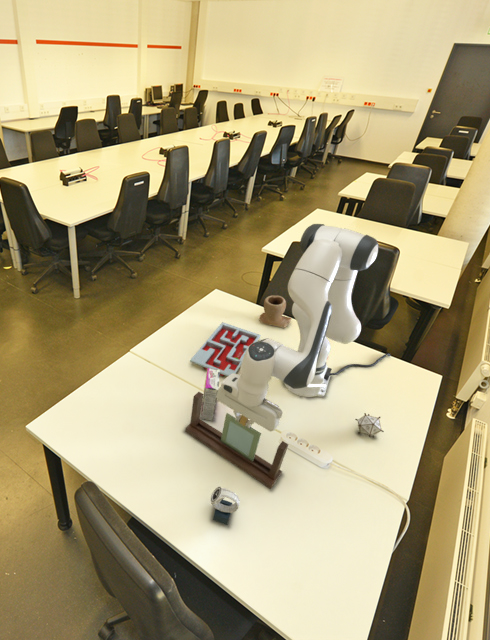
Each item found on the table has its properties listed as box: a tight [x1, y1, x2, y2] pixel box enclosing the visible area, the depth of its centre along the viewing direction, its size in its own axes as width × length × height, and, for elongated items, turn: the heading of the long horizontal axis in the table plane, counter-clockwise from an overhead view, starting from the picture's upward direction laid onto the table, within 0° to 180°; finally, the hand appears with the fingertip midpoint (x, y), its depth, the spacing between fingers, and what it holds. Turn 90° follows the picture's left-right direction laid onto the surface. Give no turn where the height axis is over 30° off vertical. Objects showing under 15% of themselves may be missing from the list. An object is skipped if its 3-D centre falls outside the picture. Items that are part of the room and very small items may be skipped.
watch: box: [210, 486, 240, 526], centre depth 113 cm, size 6×8×11 cm
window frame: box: [184, 391, 289, 490], centre depth 129 cm, size 7×34×17 cm, turn 48°
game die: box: [355, 412, 384, 438], centre depth 140 cm, size 9×8×10 cm
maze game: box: [189, 321, 261, 377], centre depth 178 cm, size 35×20×3 cm, turn 148°
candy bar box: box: [200, 368, 221, 422], centre depth 145 cm, size 11×5×16 cm, turn 168°
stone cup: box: [258, 294, 292, 329], centre depth 194 cm, size 15×12×15 cm
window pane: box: [221, 412, 262, 462], centre depth 127 cm, size 1×12×18 cm, turn 48°
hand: (243, 423), depth 123 cm, fingers closed
